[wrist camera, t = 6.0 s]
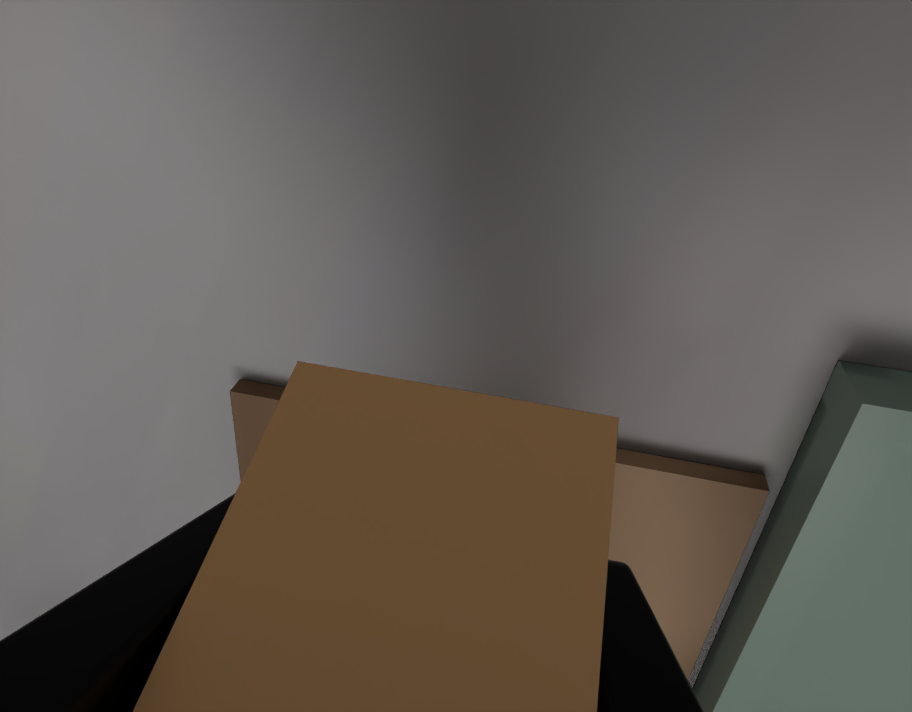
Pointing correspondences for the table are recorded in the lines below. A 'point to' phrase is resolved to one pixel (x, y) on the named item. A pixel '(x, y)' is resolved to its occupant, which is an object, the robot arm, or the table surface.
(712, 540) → the brown open lidded box
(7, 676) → the robot arm
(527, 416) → the block
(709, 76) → the table surface
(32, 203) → the table surface
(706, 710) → the tray
